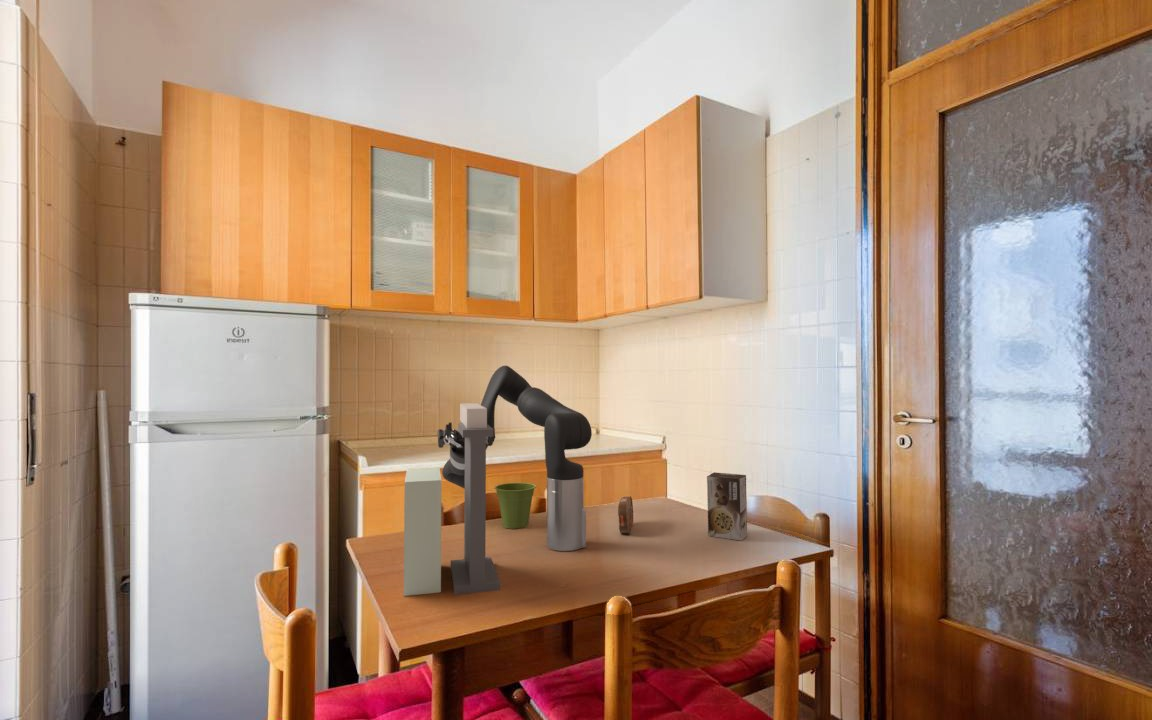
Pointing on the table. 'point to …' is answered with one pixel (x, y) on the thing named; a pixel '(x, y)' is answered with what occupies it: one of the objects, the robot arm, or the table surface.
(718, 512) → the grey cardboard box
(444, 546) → the table surface
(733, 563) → the table surface
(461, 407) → the stone bar
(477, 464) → the tall stand
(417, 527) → the pedestal
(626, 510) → the tin
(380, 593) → the table surface
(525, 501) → the plant pot
